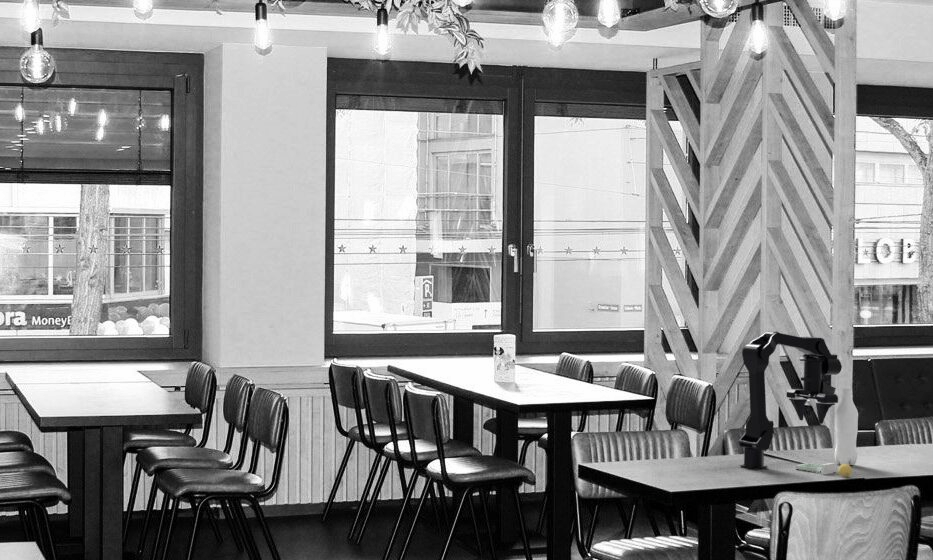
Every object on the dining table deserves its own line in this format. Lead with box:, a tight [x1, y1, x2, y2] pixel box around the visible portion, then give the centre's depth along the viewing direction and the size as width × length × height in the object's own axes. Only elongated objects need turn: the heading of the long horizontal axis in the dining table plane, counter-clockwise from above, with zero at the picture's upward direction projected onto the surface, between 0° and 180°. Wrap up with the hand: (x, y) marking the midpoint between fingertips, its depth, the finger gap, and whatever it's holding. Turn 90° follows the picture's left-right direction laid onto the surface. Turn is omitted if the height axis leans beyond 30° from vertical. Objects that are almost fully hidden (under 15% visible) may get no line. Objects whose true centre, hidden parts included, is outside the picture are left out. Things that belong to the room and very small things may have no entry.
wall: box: [820, 462, 837, 475], centre depth 369 cm, size 7×1×3 cm, turn 133°
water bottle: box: [834, 388, 859, 466], centre depth 387 cm, size 7×7×25 cm
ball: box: [838, 464, 853, 478], centre depth 363 cm, size 4×4×4 cm
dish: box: [795, 462, 822, 473], centre depth 375 cm, size 8×8×1 cm
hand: (811, 422), depth 388 cm, fingers open, 9 cm apart
